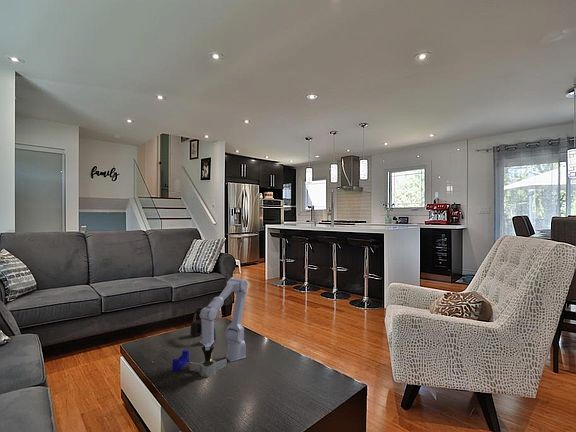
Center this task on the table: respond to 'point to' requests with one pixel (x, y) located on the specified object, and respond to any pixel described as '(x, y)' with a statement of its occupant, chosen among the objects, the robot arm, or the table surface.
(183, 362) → the cable clip
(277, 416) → the table surface
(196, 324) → the headphones
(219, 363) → the steel hinge
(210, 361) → the brass pin
